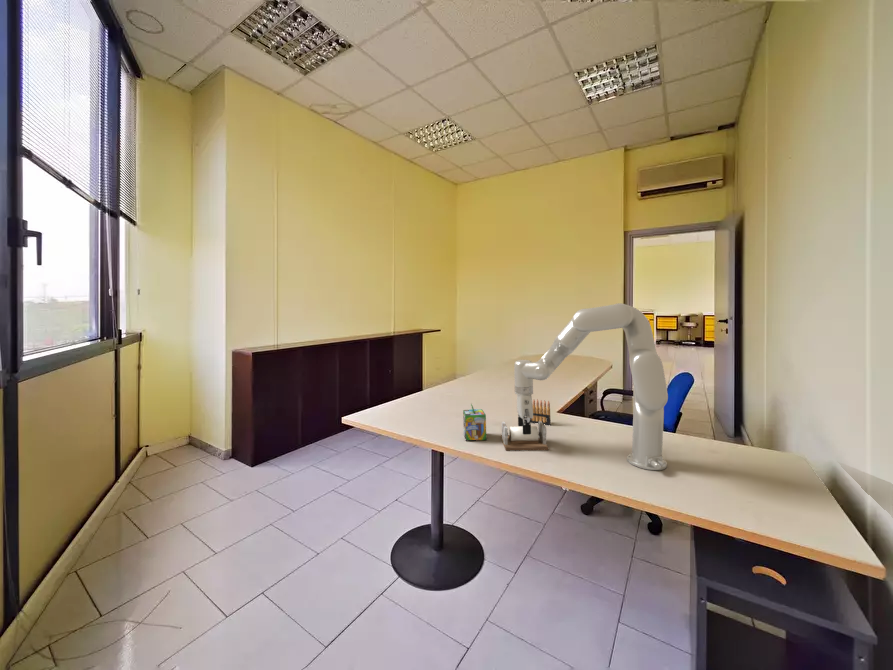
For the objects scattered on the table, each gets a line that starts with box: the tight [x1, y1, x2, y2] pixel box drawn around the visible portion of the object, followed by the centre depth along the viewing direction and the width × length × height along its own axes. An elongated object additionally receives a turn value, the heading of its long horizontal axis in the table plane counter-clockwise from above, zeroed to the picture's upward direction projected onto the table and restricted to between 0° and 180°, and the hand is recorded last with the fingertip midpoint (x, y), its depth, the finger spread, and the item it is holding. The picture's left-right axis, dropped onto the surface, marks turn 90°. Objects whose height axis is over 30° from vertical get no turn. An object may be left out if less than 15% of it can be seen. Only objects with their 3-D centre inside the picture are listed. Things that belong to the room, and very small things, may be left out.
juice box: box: [462, 403, 487, 441], centre depth 155 cm, size 9×9×15 cm
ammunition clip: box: [530, 398, 551, 426], centre depth 172 cm, size 11×2×12 cm, turn 62°
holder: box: [500, 421, 549, 452], centre depth 147 cm, size 14×17×8 cm
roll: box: [508, 425, 538, 441], centre depth 147 cm, size 6×11×6 cm, turn 89°
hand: (524, 429), depth 147 cm, fingers open, 9 cm apart
